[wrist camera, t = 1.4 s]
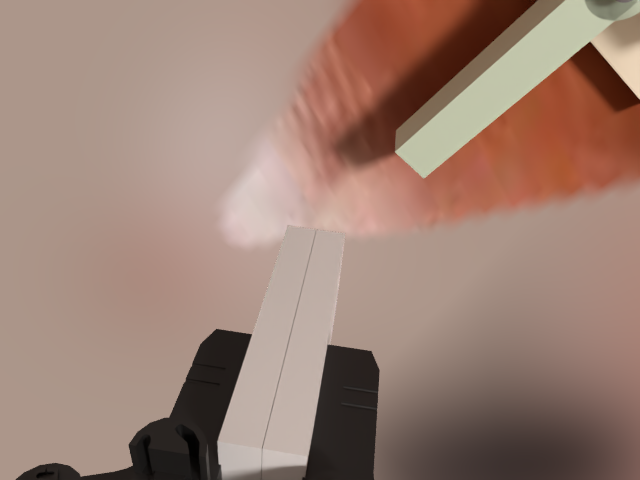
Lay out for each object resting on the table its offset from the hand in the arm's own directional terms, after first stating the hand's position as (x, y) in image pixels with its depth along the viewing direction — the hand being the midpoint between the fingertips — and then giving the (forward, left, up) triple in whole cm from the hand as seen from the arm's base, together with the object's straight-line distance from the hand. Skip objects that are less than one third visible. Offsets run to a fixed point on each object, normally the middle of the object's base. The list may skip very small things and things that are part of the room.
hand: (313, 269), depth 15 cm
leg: (-6, +4, -15) cm, 16 cm away
